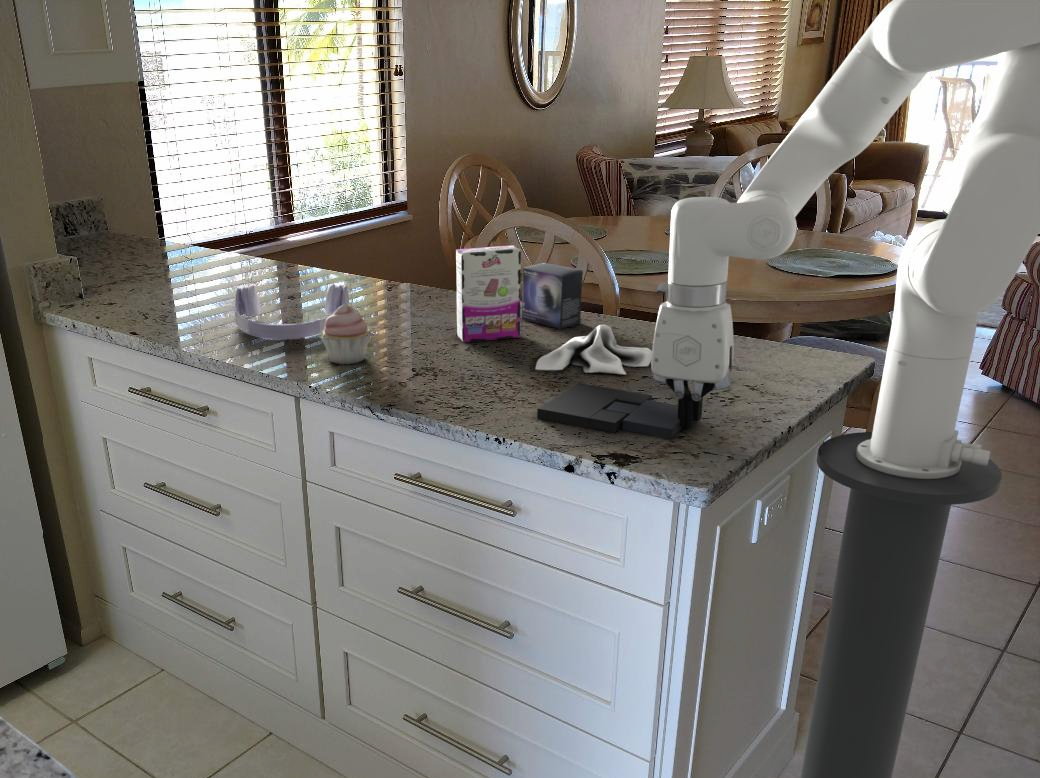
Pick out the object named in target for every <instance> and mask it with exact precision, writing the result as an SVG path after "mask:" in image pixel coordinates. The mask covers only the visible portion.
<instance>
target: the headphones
mask: <svg viewBox="0 0 1040 778" xmlns="http://www.w3.org/2000/svg"><path fill="white" fill-rule="evenodd" d="M235 291H236V292H235V302H234V306H233V310H234V319H235V324H236V326H237V325H238V326H239V327H240V328H239V327H238V326H237V328H238V329H239V330H240V331H241V332H242V333H245V334H247V335H249V336H253V337H256V338H260V339H268V340H294V339H302V338H309V337H312V336H316V335H319V333H322V332H323V330H325V322H326V319H327V318H328V317H330V316H332V315H334V313H335V311H336V310H337V309H338V308H339V307H340V306H342V305H344V304H347V305H349V304H350V296H349V291H348V287H347V285H344V286H343V285H341V284H338V285H336V284H334V283H331V284H329V286H328V289H327V291H326V296H325V301H324V311H325V312H324V314H325V316H324V317H321V318H318V319H315V320H310V321H305V322H301V323H291V324H290V323H288V324H287V323H286V324H283V323H282V324H273V323H271V324H269V323H261V322H257V321H253V320H251V319H253V318H254V317H249V316H258V317H257V318H260V317H261V303H260V299H259V295H258V291H257V287H256V284H254V283H251V284H249V285H248V286H246V285H244V286H242V287H237V289H236V290H235ZM243 314H244V316H242V317H241V315H243ZM259 315H260V316H259ZM326 315H329V316H326ZM246 316H248V317H249V318H248V317H246ZM245 317H246V318H245ZM241 328H242V329H241ZM243 329H244V330H243ZM246 330H247V331H246Z"/></svg>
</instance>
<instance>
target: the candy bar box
mask: <svg viewBox="0 0 1040 778" xmlns="http://www.w3.org/2000/svg"><path fill="white" fill-rule="evenodd" d="M455 262H456V263H455V264H456V265H455V266H456V335H457V337H458V339H459V340H460V341H461V342H462V343H471V342H473V343H474V342H484V341H495V340H506V339H507V340H508V339H509V340H510V339H518V338H521V281H522V280H521V279H522V277H521V276H522V273H521V272H522V271H521V269H522V268H521V267H522V266H521V265H522V263H521V262H522V249H520V248H519V247H517V246H516V245H501V246H500V245H499V246H486V247H473V248H459V249H456V250H455Z"/></svg>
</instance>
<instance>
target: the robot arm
mask: <svg viewBox="0 0 1040 778" xmlns="http://www.w3.org/2000/svg"><path fill="white" fill-rule="evenodd" d="M992 56H998V57H997V58H998V59H997V67H996V71H995V74H994V77H993V80H992V82H991V84H990V87H989V90H988V92H987V94H986V97H985V99H984V101H983V103H982V105H981V108H980V110H979V111H978V113H977V115H976V117H975V119H974V121H973V123H972V125H971V127H970V129H969V131H968V133H967V135H966V137H965V139H964V141H963V143H962V144H961V145H960V147H959V150H958V152H957V154H956V155H955V157H954V159H953V161H952V163H951V166H950V168H949V170H948V176H947V186H948V187H947V188H948V191H949V193H950V195H951V197H952V198H953V200H954V202H953V204H952V206H951V208H950V210H949V212H948V214H947V216H946V218H943V219H937V220H932V221H931V222H929V223H926V224H924V225H922V226H921V227H920V228H918V229H917V230H916V231H915V232H913V233H912V235H910V236H909V238H908V239H907V241H906V243H905V244H904V246H903V248H902V250H901V254H900V256H899V259H898V264H897V270H896V271H897V272H896V283H895V296H894V304H893V305H894V306H893V314H892V321H891V327H890V332H889V339H888V343H887V347H886V348H887V349H886V354H885V360H884V366H883V371H882V378H881V382H880V389H879V392H878V399H877V403H876V404H877V405H876V409H875V410H876V412H875V416H874V422H873V428H872V431H871V432H872V438H871V439H869V440H866V441H864V442H862V443H860V444H859V445H858V447H857V450H856V457H857V459H858V460H859V461H860V462H861V463H863V464H864V465H866V466H868V467H870V468H872V469H874V470H877V471H879V472H882V473H886V474H889V475H894V476H899V477H905V478H913V479H939V478H946V477H949V476H952V475H954V474H956V473H957V472H958V471H959V470H960V467H961V461H966V462H972V463H973V464H979V465H984V466H987V464H988V460H989V459H990V456H991V450H986V449H982V444H975V443H966V442H963V441H962V439H958V436H959V430H958V429H956V426H957V421H958V415H959V412H960V406H961V402H962V398H963V393H964V388H965V385H966V378H967V374H968V371H969V370H968V369H969V365H970V359H971V356H972V352H973V347H974V343H975V338H976V333H977V326H978V319H979V312H982V311H983V310H985V309H987V308H989V307H990V306H992V305H993V304H994V303H995V302H996V301H998V299H1000V297H1001V296H1002V295H1003V294H1004V293H1005V291H1006V290H1007V289H1008V287H1009V286H1010V285H1011V283H1012V281H1013V279H1014V278H1015V276H1016V275H1017V272H1018V271H1019V269H1020V268H1021V266H1022V264H1023V262H1024V260H1025V259H1026V257H1027V255H1028V254H1029V252H1030V250H1031V248H1032V246H1033V244H1034V242H1035V241H1036V239H1037V237H1038V235H1039V234H1040V0H891V1H890V2H889V3H888V4H887V5H886V6H885V7H884V8H883V9H882V10H881V11H880V12H879V14H878V15H877V16H876V17H875V19H874V20H873V21H872V23H871V24H870V25H869V26H868V27H867V29H866V30H865V32H864V33H863V35H862V36H861V37H860V38H859V40H858V41H857V43H856V44H855V45H854V46H853V48H852V49H851V51H850V52H849V53H848V54H847V56H846V57H845V59H844V60H843V61H842V63H841V64H840V66H838V68H837V69H836V71H835V72H834V73H833V74H832V76H831V78H830V79H829V80H828V81H827V83H826V84H825V85H824V87H823V88H822V90H821V91H820V93H818V95H817V96H816V97H815V99H814V100H813V101H812V102H811V104H809V105H810V106H809V107H808V108H807V109H806V111H805V112H804V113H803V114H802V115H801V116H800V118H799V119H798V120H797V122H796V123H795V125H794V126H793V127H792V129H791V130H790V132H789V133H788V134H787V135H786V137H785V138H784V139H783V140H782V142H781V143H780V144H779V145H778V147H777V148H776V149H775V150H774V152H773V153H772V154H771V156H770V157H769V158H768V160H767V161H766V162H765V163H764V165H763V166H762V167H761V168H760V170H759V171H758V172H757V174H756V176H754V178H753V179H752V180H751V182H750V183H749V185H748V186H747V188H746V189H745V190H744V192H743V193H742V194H741V196H740V197H739V198H738V200H737V202H730V201H728V200H727V199H725V198H722V197H716V196H693V197H685V198H682V199H680V200H678V201H676V202H675V203H674V205H673V206H672V209H671V213H670V231H669V232H670V233H669V252H668V254H669V255H668V275H667V280H666V281H665V282H663V283H661V282H659V283H658V284H657V288H656V292H657V293H658V294H662V295H664V296H665V301H663V302H661V303H660V305H659V309H658V312H657V319H656V323H655V329H654V334H653V342H652V350H651V351H652V359H651V362H650V368H651V372H652V379H653V380H654V381H656V382H658V383H660V384H664V385H667V386H668V387H669V388H670V390H671V391H672V392H673V393H674V396H675V398H676V399H677V405H678V418H679V419H681V422H680V426H681V427H682V428H685V427H687V429H693V427H694V426H696V424H698V422H700V421H701V420H702V416H703V401H704V397H705V396H706V395H708V394H709V393H710V392H711V391H714V390H716V391H718V390H719V391H720V390H727V389H729V388H730V387H731V386H732V385H733V381H732V375H731V372H732V370H733V366H734V346H735V345H734V323H733V314H732V308H731V307H732V306H731V304H730V303H727V293H728V292H727V290H728V273H729V262H730V261H729V259H730V257H734V258H741V259H747V260H756V261H759V260H760V261H764V260H765V261H766V260H770V259H774V258H777V257H779V256H782V254H784V253H785V252H787V251H788V250H789V248H790V247H791V246H792V245H793V243H794V241H795V239H796V235H797V231H798V230H797V228H798V227H797V226H798V225H797V220H796V217H797V216H798V214H799V213H800V212H801V211H802V209H803V208H804V206H805V205H807V202H808V201H809V200H810V199H811V197H812V196H813V195H814V194H815V193H816V191H818V189H819V188H820V187H821V186H822V184H823V183H824V182H825V181H827V179H828V178H829V177H831V175H832V174H833V173H834V172H835V171H836V170H838V169H839V168H840V167H841V166H843V165H845V164H846V163H847V162H849V161H851V160H852V159H854V158H856V157H857V156H858V155H860V154H861V153H862V152H863V151H864V150H865V149H867V148H868V147H869V146H870V145H871V144H872V143H873V142H874V141H875V139H876V138H877V137H878V135H879V134H880V133H881V131H882V130H883V129H884V127H885V126H886V125H887V124H888V122H889V121H890V120H891V118H892V117H893V116H894V115H895V113H896V112H897V110H898V109H899V108H900V107H901V105H902V104H903V103H904V102H905V100H907V98H908V97H909V95H910V94H911V93H912V92H913V90H914V89H916V87H917V86H918V85H919V84H920V82H921V81H922V80H923V79H924V77H925V76H926V75H927V74H928V73H930V72H935V71H939V70H944V69H948V68H952V67H956V66H960V65H963V64H968V63H972V62H975V61H978V60H983V59H985V58H989V57H992ZM690 382H694V384H693V389H692V391H691V385H690Z"/></svg>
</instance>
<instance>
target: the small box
mask: <svg viewBox="0 0 1040 778" xmlns="http://www.w3.org/2000/svg"><path fill="white" fill-rule="evenodd" d="M583 275H584V270H583V269H579V268H573V267H569V266H568V267H567V266H561V265H557V264H552V263H547V262H542V263H537V264H533V265H529V266H525V267H522V277H521V279H522V280H521V281H522V282H521V317H520V320H525V321H529V322H532V323H535V324H540V325H543V326H548V327H550V328H555V329H559V330H562V329H565V328H568V327H572V326H575V325H579V324H581V314H582V313H581V312H582V294H583V293H582V292H583V291H582V288H583Z"/></svg>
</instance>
